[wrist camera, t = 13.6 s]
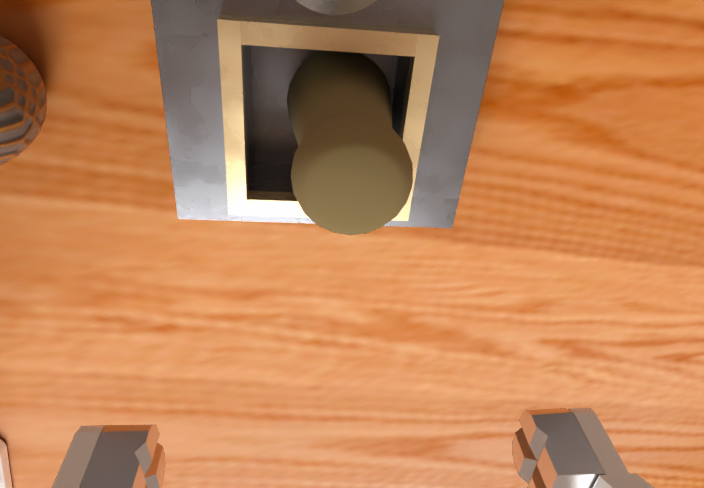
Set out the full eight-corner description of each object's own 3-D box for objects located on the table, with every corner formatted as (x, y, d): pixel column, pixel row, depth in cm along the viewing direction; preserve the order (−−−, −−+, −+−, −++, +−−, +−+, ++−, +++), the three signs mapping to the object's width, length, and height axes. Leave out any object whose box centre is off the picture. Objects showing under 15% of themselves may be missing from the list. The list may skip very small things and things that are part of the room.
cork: (345, 170, 32) (362, 279, 23) (265, 110, 30) (249, 207, 20) (412, 95, 30) (461, 184, 21) (332, 24, 27) (346, 89, 18)
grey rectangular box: (436, 192, 35) (459, 245, 29) (192, 182, 33) (171, 236, 28) (502, -141, 25) (554, -149, 19) (156, -180, 23) (111, -201, 18)
